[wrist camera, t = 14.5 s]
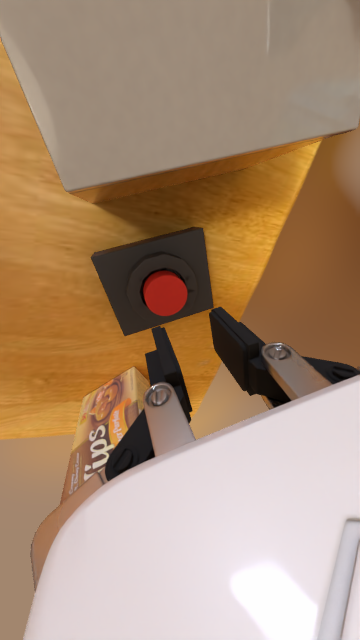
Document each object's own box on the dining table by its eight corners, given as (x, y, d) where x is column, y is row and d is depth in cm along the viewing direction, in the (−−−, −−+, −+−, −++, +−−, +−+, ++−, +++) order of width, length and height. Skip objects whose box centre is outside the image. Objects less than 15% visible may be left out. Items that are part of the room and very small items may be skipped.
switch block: (124, 325, 25) (124, 345, 21) (94, 252, 20) (87, 261, 16) (205, 299, 26) (220, 314, 22) (194, 226, 22) (210, 229, 18)
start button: (149, 313, 21) (151, 321, 19) (137, 277, 19) (139, 282, 17) (185, 302, 21) (191, 309, 20) (178, 265, 19) (183, 269, 18)
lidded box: (237, -108, 13) (456, -710, 5) (245, 168, 20) (334, 135, 12) (-21, -99, 11) (-484, -1131, 3) (92, 203, 18) (69, 193, 10)
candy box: (101, 410, 30) (86, 559, 17) (80, 396, 28) (46, 554, 15) (149, 380, 30) (172, 507, 17) (133, 363, 28) (144, 494, 15)
